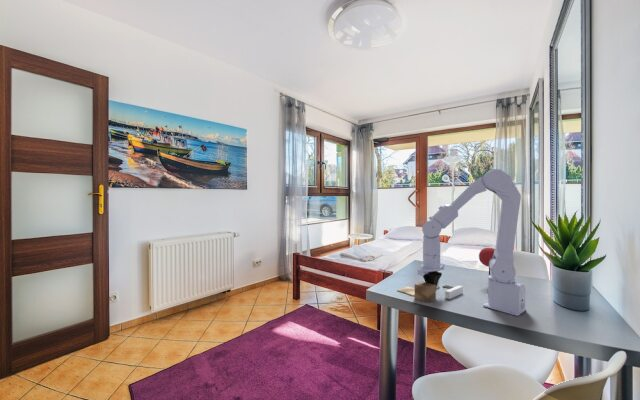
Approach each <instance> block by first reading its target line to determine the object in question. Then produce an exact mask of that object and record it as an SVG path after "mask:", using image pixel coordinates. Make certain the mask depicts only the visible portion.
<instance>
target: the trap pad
mask: <svg viewBox="0 0 640 400" xmlns="http://www.w3.org/2000/svg"><path fill="white" fill-rule="evenodd" d="M454 287H455V286H451V285H446V284H445V285H443V286H442V288H444V289H447V290H449V289H451V288H454Z"/></svg>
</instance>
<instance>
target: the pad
mask: <svg viewBox="0 0 640 400" xmlns="http://www.w3.org/2000/svg"><path fill="white" fill-rule="evenodd" d="M396 291H397V292H399V293H403V294H406V295H409V296H411V297H415V287H412V286H404V287H402V288H398V289H397V290H396Z"/></svg>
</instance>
